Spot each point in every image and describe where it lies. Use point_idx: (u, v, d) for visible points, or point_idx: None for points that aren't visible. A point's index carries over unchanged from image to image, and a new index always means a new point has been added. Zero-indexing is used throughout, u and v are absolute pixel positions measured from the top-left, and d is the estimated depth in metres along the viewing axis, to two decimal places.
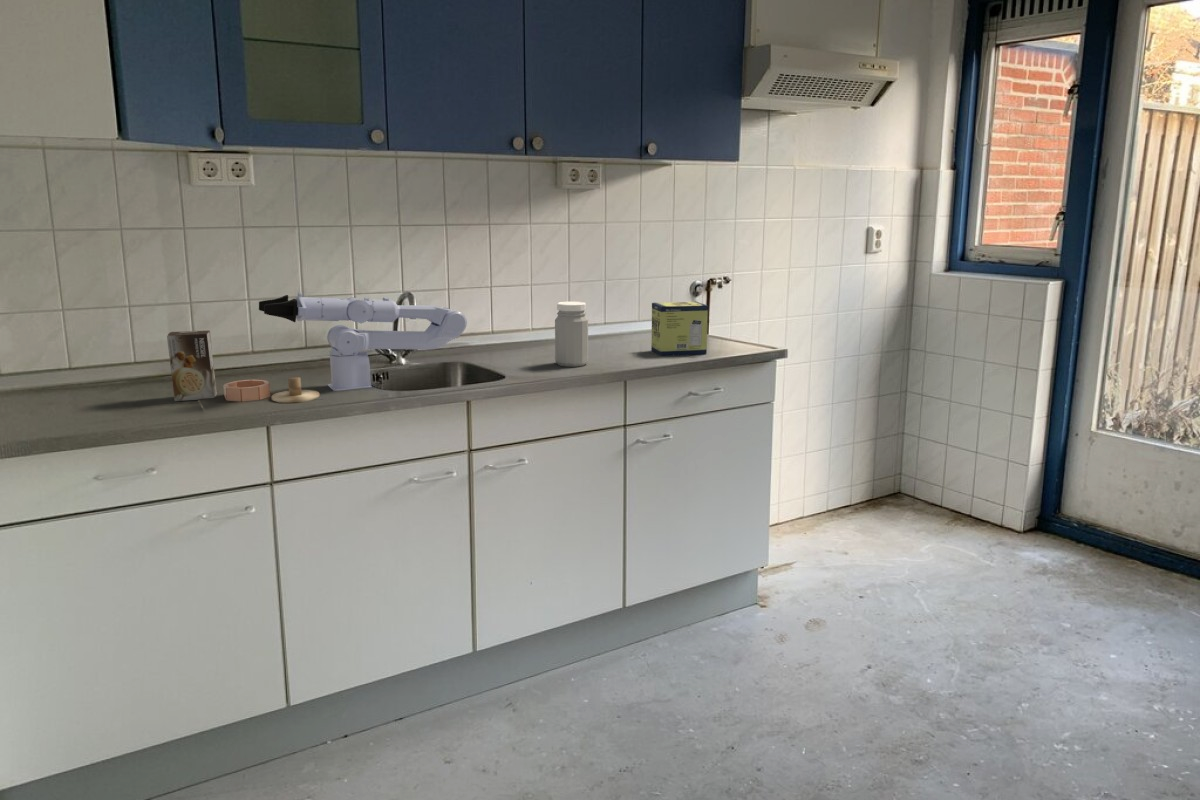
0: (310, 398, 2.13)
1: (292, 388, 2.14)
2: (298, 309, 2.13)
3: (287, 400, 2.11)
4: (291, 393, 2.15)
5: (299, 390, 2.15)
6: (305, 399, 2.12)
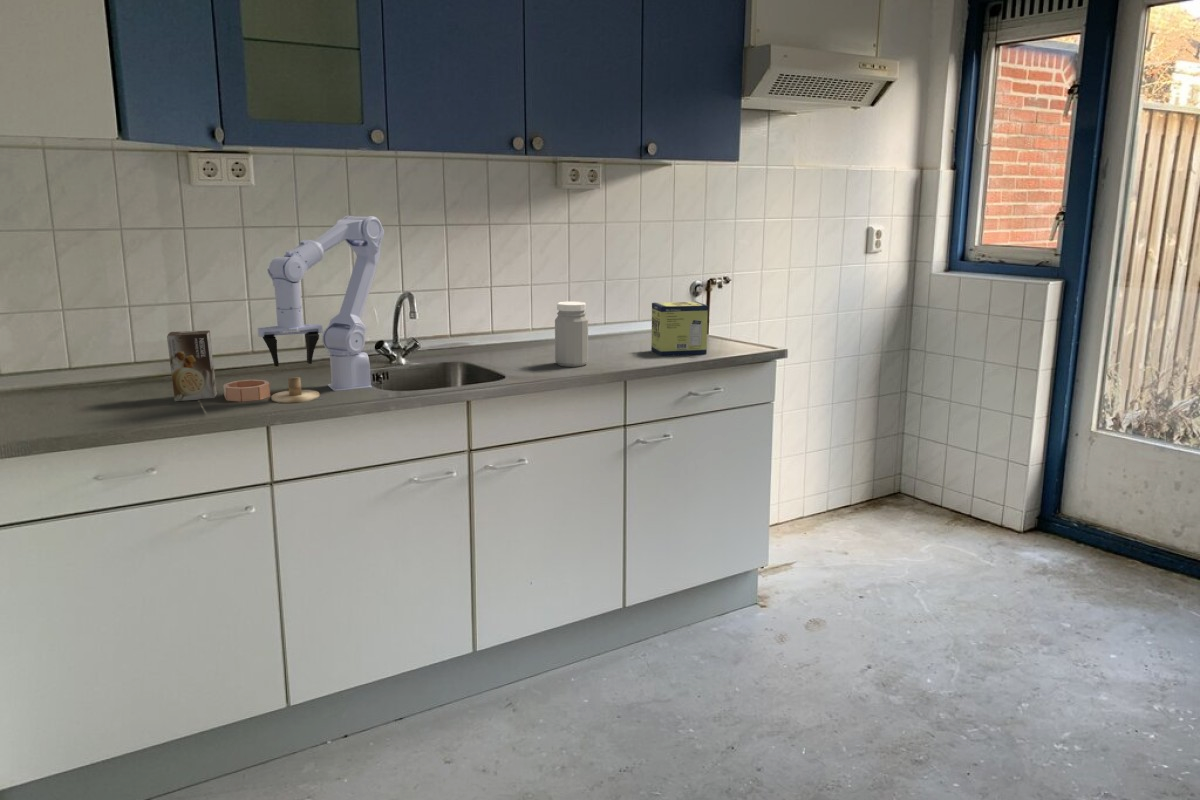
0: (310, 398, 2.13)
1: (292, 388, 2.14)
2: None
3: (287, 400, 2.11)
4: (291, 393, 2.15)
5: (299, 390, 2.15)
6: (305, 399, 2.12)
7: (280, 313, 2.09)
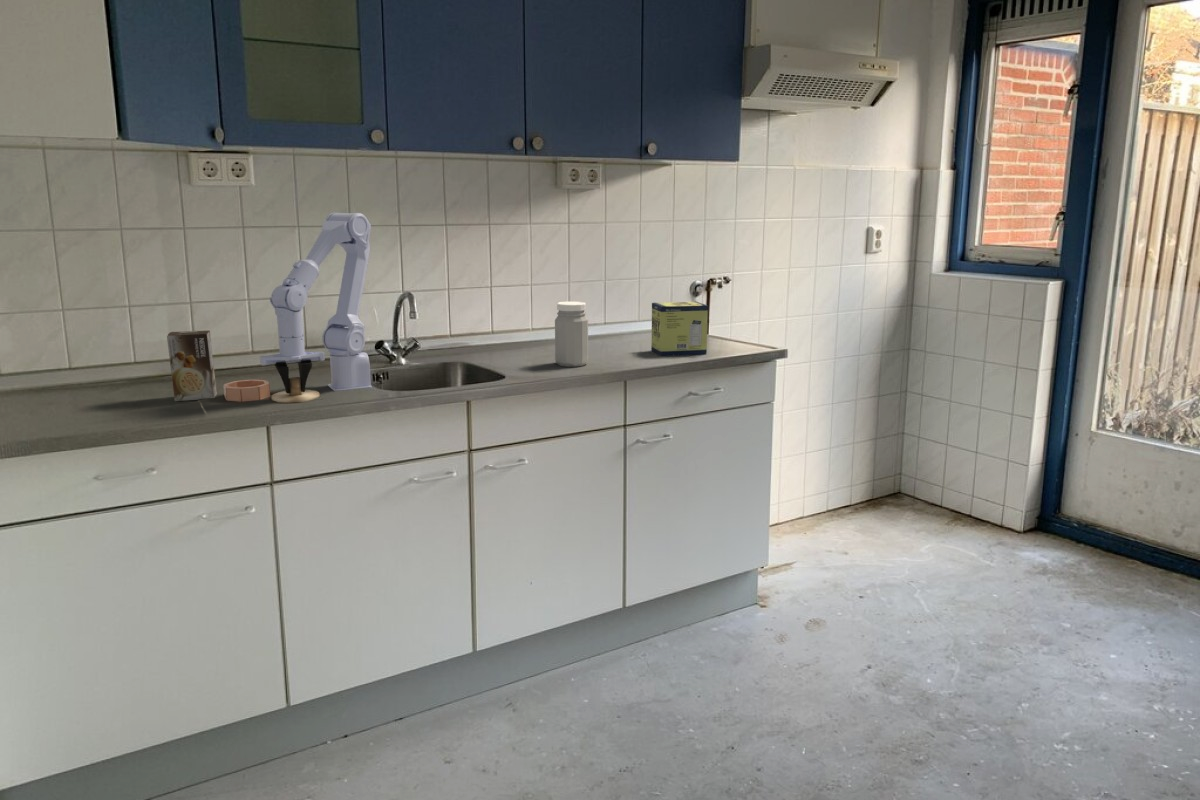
0: (310, 398, 2.13)
1: (292, 388, 2.14)
2: None
3: (287, 400, 2.11)
4: (291, 393, 2.15)
5: (299, 390, 2.15)
6: (305, 399, 2.12)
7: (282, 342, 2.11)
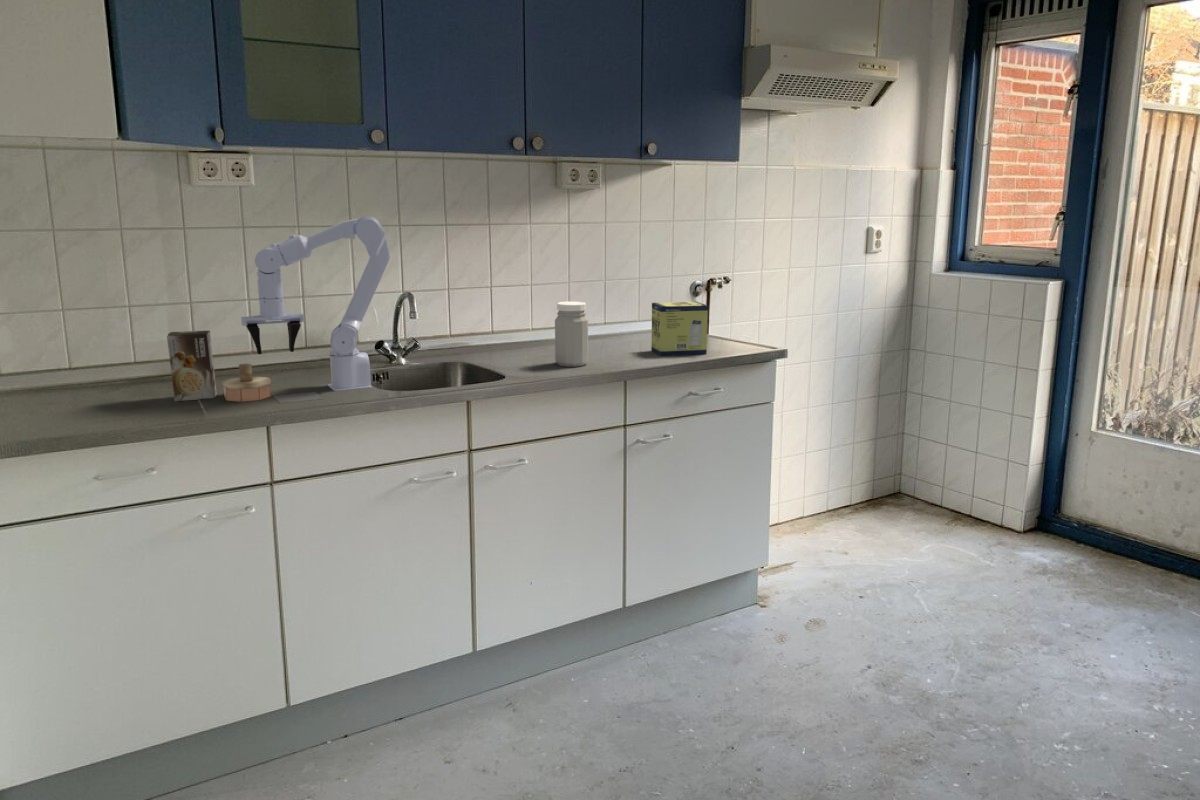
0: (262, 384, 2.14)
1: (243, 374, 2.15)
2: None
3: (238, 386, 2.11)
4: (242, 379, 2.15)
5: (250, 376, 2.16)
6: (257, 385, 2.13)
7: (262, 303, 2.18)
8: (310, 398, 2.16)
